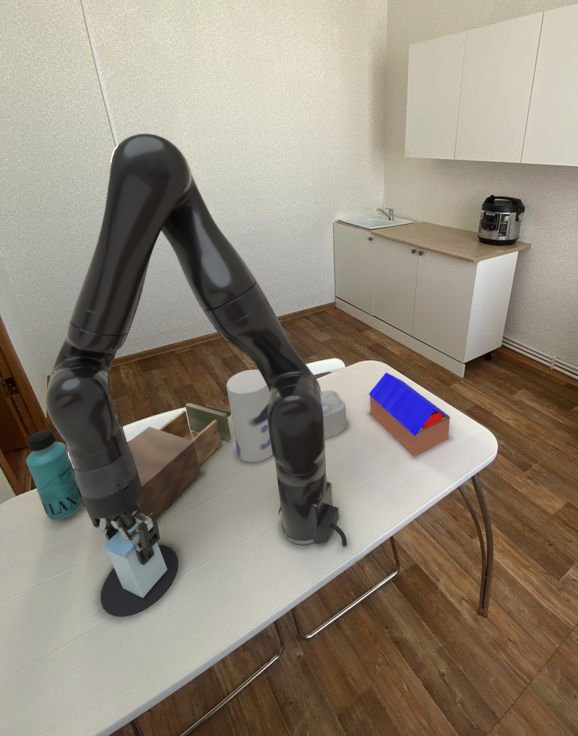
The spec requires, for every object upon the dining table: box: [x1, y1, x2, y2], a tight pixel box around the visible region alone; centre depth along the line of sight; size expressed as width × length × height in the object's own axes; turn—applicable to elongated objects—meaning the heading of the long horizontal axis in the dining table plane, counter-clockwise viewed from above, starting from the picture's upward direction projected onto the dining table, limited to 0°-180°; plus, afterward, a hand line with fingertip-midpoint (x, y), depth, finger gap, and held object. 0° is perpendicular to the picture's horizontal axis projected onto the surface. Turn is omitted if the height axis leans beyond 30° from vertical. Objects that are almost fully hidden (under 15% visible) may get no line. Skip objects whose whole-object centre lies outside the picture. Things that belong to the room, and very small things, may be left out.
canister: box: [103, 523, 167, 598], centre depth 65 cm, size 5×5×10 cm
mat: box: [100, 543, 179, 618], centre depth 67 cm, size 12×12×1 cm
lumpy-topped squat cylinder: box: [321, 390, 347, 440], centre depth 103 cm, size 10×13×9 cm
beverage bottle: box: [25, 428, 84, 521], centre depth 77 cm, size 6×7×20 cm
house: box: [368, 372, 451, 457], centre depth 102 cm, size 12×20×12 cm, turn 32°
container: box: [226, 369, 273, 463], centre depth 93 cm, size 10×10×20 cm
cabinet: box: [127, 426, 202, 520], centre depth 83 cm, size 16×14×10 cm
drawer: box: [157, 402, 232, 466], centre depth 95 cm, size 19×13×8 cm
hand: (132, 551), depth 65 cm, fingers open, 6 cm apart
